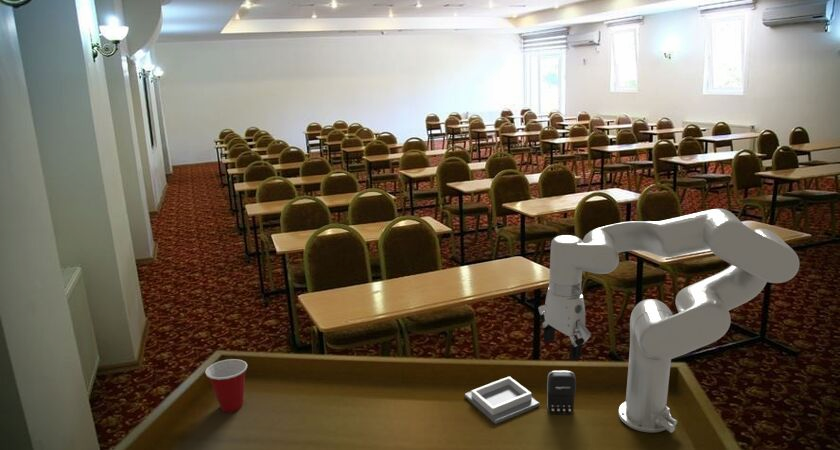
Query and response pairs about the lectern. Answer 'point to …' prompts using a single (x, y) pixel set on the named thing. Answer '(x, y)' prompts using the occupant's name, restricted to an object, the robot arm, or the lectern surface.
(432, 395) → the lectern surface
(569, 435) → the lectern surface
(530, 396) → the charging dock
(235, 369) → the plastic cup
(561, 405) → the battery charger
